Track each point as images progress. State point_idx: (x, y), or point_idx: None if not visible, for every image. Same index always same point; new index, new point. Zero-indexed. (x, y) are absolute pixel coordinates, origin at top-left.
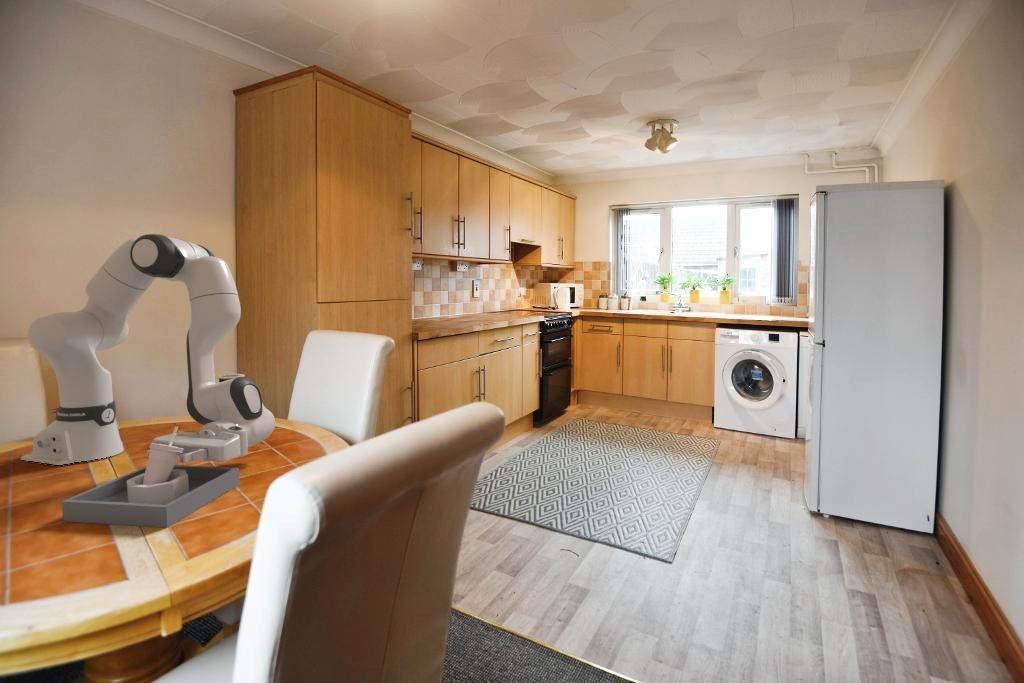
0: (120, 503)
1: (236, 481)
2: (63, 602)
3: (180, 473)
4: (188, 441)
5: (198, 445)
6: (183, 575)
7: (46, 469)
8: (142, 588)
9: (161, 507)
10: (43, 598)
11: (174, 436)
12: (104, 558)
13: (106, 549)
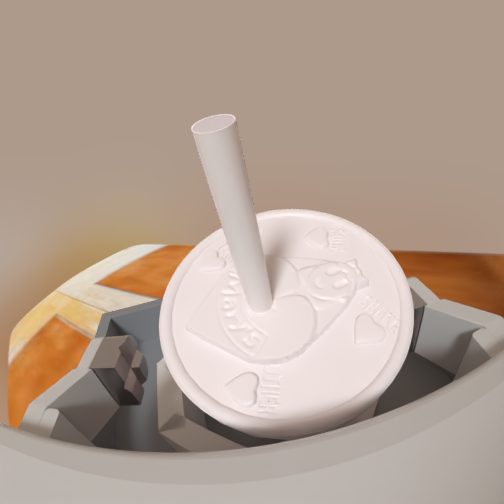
0: None
1: None
2: (126, 259)
3: (215, 436)
4: (265, 496)
5: (64, 441)
6: (51, 301)
7: None
8: (76, 283)
9: (113, 312)
10: (147, 254)
11: (231, 248)
12: (147, 285)
13: (164, 291)
